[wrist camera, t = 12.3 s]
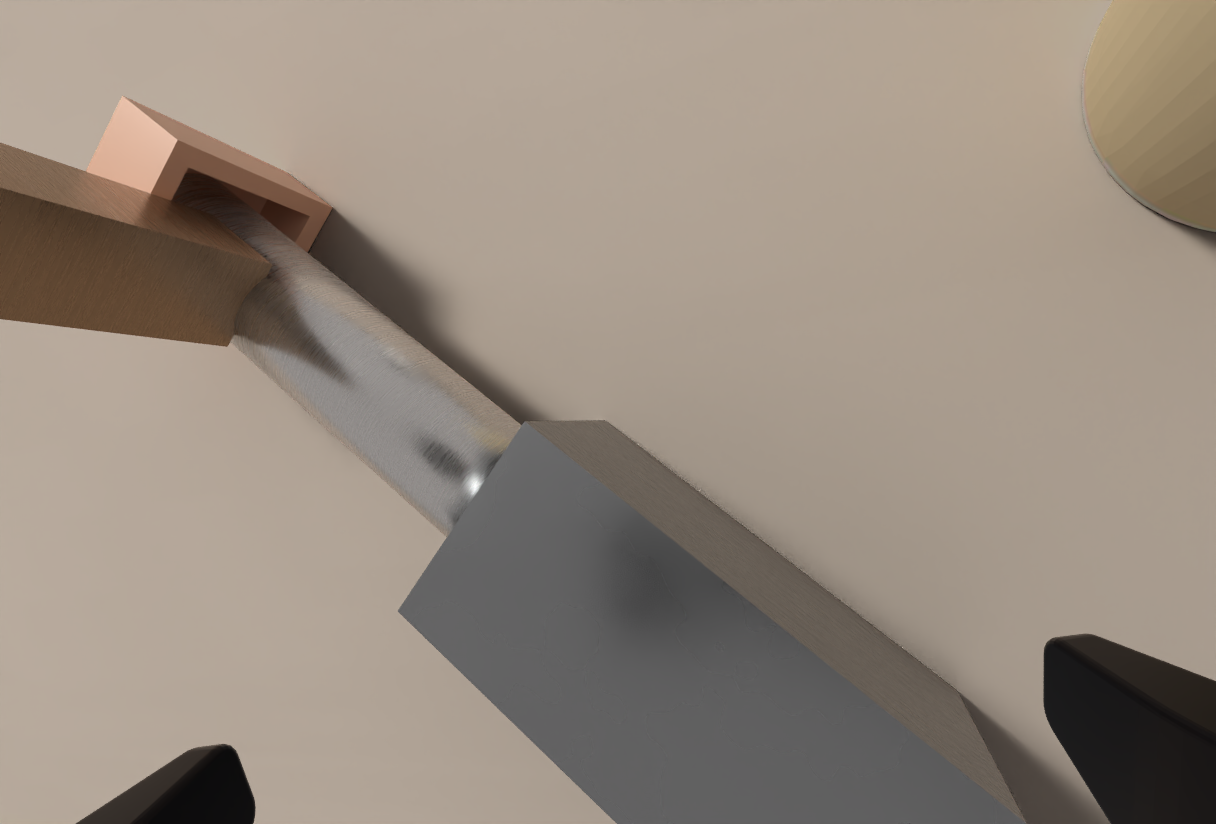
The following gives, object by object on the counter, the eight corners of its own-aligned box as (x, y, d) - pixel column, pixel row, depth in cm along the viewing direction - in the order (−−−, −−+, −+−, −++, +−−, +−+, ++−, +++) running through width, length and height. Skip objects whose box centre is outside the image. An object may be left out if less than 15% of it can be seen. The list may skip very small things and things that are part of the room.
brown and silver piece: (673, 527, 18) (437, 711, 7) (601, 624, 19) (274, 942, 7) (255, 195, 23) (-296, -25, 11) (209, 281, 23) (-358, 153, 12)
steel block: (957, 691, 17) (1027, 824, 11) (824, 840, 18) (829, 1029, 12) (605, 420, 20) (524, 420, 14) (508, 559, 21) (397, 611, 15)
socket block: (332, 207, 23) (177, 140, 17) (257, 341, 24) (87, 318, 18) (286, 172, 24) (122, 95, 18) (214, 303, 25) (38, 270, 19)
